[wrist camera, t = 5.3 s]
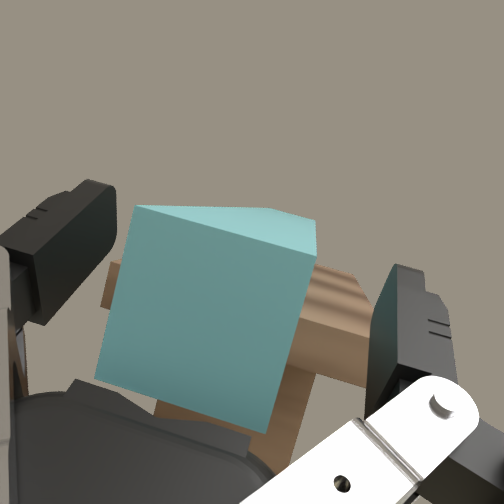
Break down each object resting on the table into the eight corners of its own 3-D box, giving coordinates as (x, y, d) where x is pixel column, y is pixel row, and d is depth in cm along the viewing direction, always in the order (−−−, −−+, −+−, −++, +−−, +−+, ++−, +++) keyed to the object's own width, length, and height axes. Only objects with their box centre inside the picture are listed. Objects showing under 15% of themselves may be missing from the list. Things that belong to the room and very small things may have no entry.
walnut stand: (235, 992, 22) (446, 360, 18) (-66, 854, 24) (67, 248, 20) (273, 621, 42) (377, 281, 38) (107, 560, 43) (191, 228, 39)
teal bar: (265, 434, 9) (316, 256, 8) (94, 378, 9) (134, 205, 9) (302, 266, 34) (315, 220, 34) (256, 253, 35) (269, 208, 34)
